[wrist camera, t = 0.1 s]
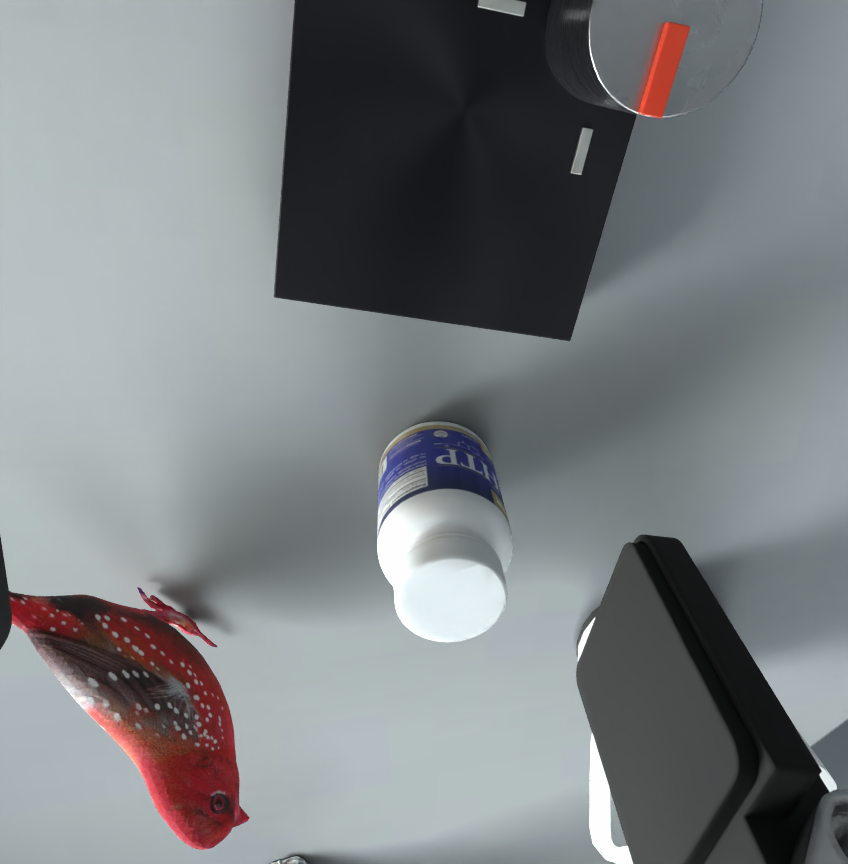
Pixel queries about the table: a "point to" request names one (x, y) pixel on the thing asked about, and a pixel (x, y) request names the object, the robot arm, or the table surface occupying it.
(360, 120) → the panel
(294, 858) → the chrome statue
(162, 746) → the decorative bird figurine
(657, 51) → the hob knob
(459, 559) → the pill bottle
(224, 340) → the table surface
